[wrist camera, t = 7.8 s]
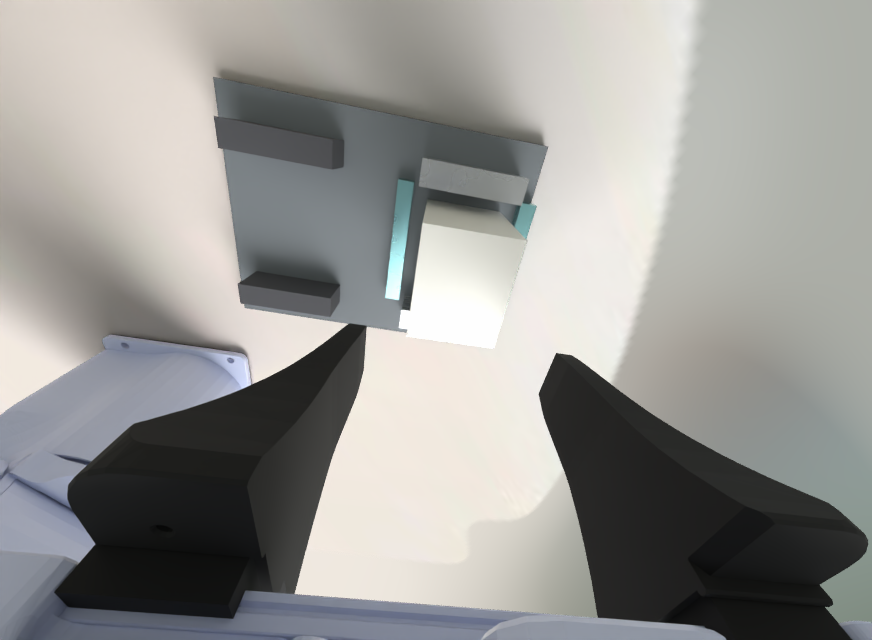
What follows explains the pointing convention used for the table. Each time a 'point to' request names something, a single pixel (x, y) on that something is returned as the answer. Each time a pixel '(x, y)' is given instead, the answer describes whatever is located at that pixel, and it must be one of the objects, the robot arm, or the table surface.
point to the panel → (348, 195)
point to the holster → (293, 149)
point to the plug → (463, 274)
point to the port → (453, 181)
